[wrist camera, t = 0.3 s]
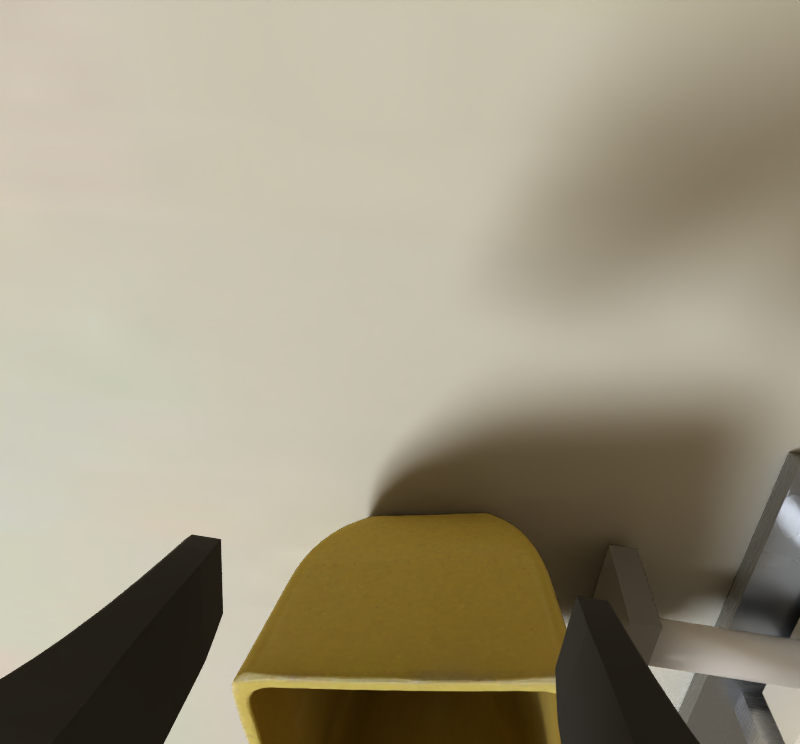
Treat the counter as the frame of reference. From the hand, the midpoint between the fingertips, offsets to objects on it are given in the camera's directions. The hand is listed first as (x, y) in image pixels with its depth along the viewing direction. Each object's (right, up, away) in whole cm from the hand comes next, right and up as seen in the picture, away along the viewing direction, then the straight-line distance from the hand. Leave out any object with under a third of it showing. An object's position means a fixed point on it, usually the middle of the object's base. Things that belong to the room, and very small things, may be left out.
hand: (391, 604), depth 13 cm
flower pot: (+2, -3, +12) cm, 13 cm away
